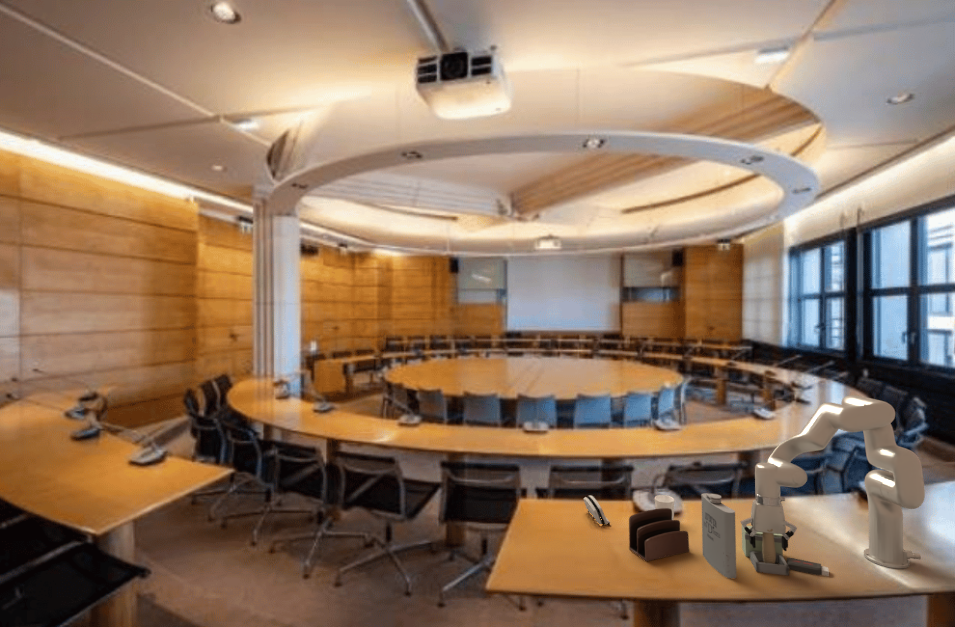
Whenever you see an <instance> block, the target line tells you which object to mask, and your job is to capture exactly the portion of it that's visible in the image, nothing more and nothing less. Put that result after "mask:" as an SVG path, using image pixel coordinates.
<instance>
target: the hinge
mask: <svg viewBox="0 0 955 627" xmlns="http://www.w3.org/2000/svg"><path fill="white" fill-rule="evenodd" d="M583 502H584V505H585V508H586V510H587V509H588V511H589V512H590V513H591V514H592V515H593V517H594V518H595V519H596V521H597V522H598V523H599V524H603V525H605V524H606V525H607V524H608V523H609V524H610V523H611V521H610V520H609V519H608V518H607V516H605V513H604V511H603V508H602V507H601V505H600V504H599V502H598V500H597V499H596V498H595V496H593V495H587V496H585V497H584V498H583ZM588 511H587V512H588ZM589 512H588V513H589ZM590 513H589V514H590ZM593 517H592V518H593ZM600 517H601V518H600ZM601 519H602V520H601ZM596 521H595V522H596ZM597 522H596V523H597ZM602 522H603V523H602ZM609 524H608V525H609Z"/></svg>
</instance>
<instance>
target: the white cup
mask: <svg viewBox="0 0 955 627" xmlns="http://www.w3.org/2000/svg"><path fill="white" fill-rule="evenodd" d="M660 508H669V509H671V510H672V520H674V517H675V498H673V497H672V496H670V495H666V494H663V495H662V494H658V495H655V497H654V509H660Z"/></svg>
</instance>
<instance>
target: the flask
mask: <svg viewBox="0 0 955 627" xmlns="http://www.w3.org/2000/svg"><path fill="white" fill-rule="evenodd" d="M700 496H701V529H702V530H701V534H702V535H701V536H702V537H701V538H702V540H701V541H702V542H701V543H702V557H704V559H705V560H706V561H707V563H708V564H709V565H710V566H711V568H713V569H714V570H715V571H717V572H718V573H719V574H721V575H722V576H723V577H725V578H726V577H727V578H726V579H730V578H731V580H733V579H732V578H734V579H736V578H737V544H736V543H737V541H736V536H737V534H736V510H734V509H733V508H730V507H729V506H727V505H725V504H724V503H722V495H720V494H717V493H709V492H708V493H707V492H705V493H701V495H700Z"/></svg>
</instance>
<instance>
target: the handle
mask: <svg viewBox="0 0 955 627" xmlns="http://www.w3.org/2000/svg"><path fill="white" fill-rule="evenodd" d="M767 531H769V530H767ZM772 531H773V529H771V530H770V531H769V532H772ZM762 552H763V559H764V562H763V563H772V564H776V563H775V559H776V552H775V543H774V533H764V532H763V545H762Z"/></svg>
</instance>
